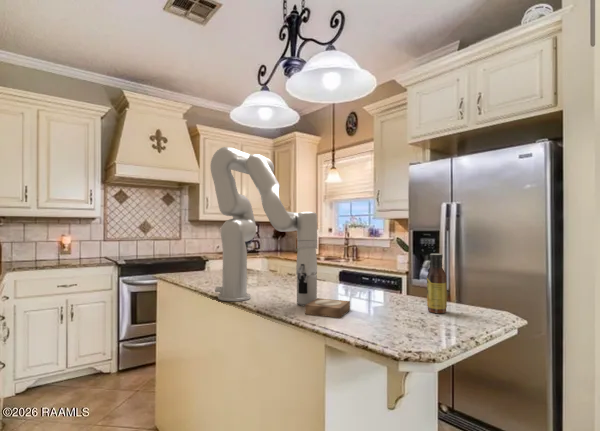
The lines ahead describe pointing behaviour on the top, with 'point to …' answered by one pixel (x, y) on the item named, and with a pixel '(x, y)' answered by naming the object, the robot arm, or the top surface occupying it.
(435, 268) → the sauce bottle
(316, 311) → the base
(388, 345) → the top surface
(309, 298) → the can
